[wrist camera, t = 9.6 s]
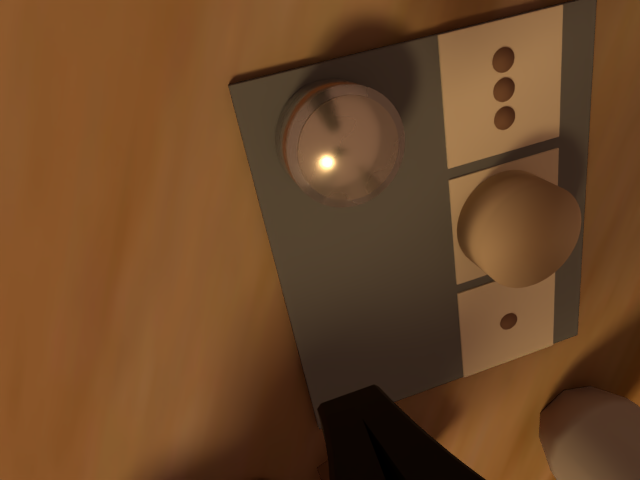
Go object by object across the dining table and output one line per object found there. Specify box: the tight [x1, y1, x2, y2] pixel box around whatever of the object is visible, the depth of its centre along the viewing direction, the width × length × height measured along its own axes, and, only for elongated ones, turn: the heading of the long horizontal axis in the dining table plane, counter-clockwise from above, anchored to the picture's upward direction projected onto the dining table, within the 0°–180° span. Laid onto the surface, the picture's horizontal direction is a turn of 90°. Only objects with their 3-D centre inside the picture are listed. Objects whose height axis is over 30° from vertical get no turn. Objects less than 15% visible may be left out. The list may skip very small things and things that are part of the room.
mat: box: [228, 0, 597, 429], centre depth 22 cm, size 14×16×1 cm
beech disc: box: [457, 170, 581, 288], centre depth 21 cm, size 4×4×2 cm
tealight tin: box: [275, 79, 405, 208], centre depth 18 cm, size 4×4×2 cm
